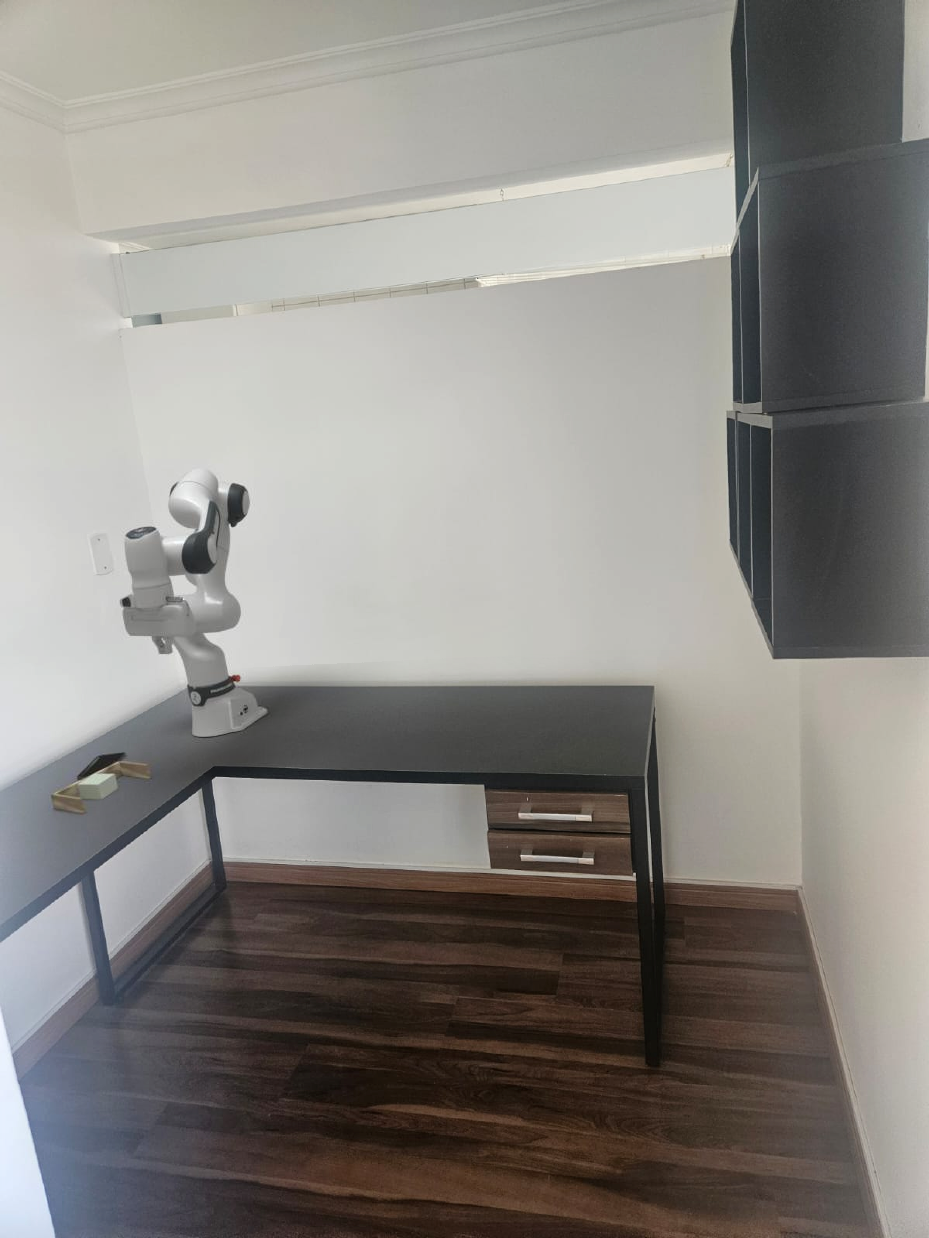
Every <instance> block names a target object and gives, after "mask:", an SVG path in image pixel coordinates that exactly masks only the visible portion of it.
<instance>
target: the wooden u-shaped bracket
mask: <svg viewBox="0 0 929 1238" xmlns="http://www.w3.org/2000/svg"><path fill="white" fill-rule="evenodd" d="M94 774H115V777H116V779H117V778H120V777H122V776H125V777H132V778H134V777H135V778H140V779H147V780H149V779H151V778H152V775H151V771H150V766H149V764H148V763H142V762H141V763H140V762H132V761H126V760H125V761H124V760H122V761H119V762H116V763H114V764H112V765H110V766H108V767H106V768H104V769H102V770H100V771H98V772H96V773H94ZM92 775H93V774H92ZM90 776H91V775H90ZM90 776H88V777H90ZM88 777H86V778H84V779H82V780H77V781H76V782H74V783H71V784H70V785H68V786H66V787H64V788H61V789H60V790H58V791H55V792H54V793H52V794H50V798H51V801H52V806H53V809H54V810H55V809H56V810H60V811H66V812H73V813H76V814H77V813H78V814H85V813H87V811H86V804H85V802H84V799H83V798H80V794H79V790H78V785H77V784H79V783H80V782H82V781H83V780H85V779H87V778H88Z"/></svg>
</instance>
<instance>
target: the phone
mask: <svg viewBox="0 0 929 1238" xmlns="http://www.w3.org/2000/svg"><path fill="white" fill-rule="evenodd" d="M126 757H127V753H126V752H124V751H123V752H116V753H108V754H101V755H97V756H96V757H94V759H93V760H92V761H90V763H89V764H88V765H87V766H86V767H85V768H84V769H83V770H82V771H81V772H80V773H79V774H78V775H77V776H76V779H77V781H80V780H82V779H84V778H86V777H88V776H90V775H92V774H94V773H96V772H98V771H100V770H102V769H104V768H106V767H108V766H110V765H112V764H114V763H116V762H119V761H124V759H125V758H126Z"/></svg>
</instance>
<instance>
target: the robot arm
mask: <svg viewBox="0 0 929 1238" xmlns="http://www.w3.org/2000/svg"><path fill="white" fill-rule="evenodd" d="M168 498H169V499H168V505H167V506H168V510H169V511H168V512H169V513H170V517H172V518H173V520H174V521H175V522H176V523H177V524H179V525H180V526H181V527H185V528H187V529H192V530H193V529H194V531H193V532H192V533H186V534H178V535H169V536H166V535H165V536H163V535H161V534H160V532H159V530H158V528H157V527H156V526H141V527H138V528H134V529H132V530H129V531H127V533H126V534H125V535H124V542H123V543H124V553H125V554H124V555H125V561H126V566H127V570H128V572H129V575H130V577H131V589H132V592H131V593H129V594H128V595H125V596H124V597H121V598H120V599H119V605H120V607H121V608H122V619H123V624H124V629H125V631H126V633H127V634H128V635H129V636H131V637H151V641H152V643H154V645H155V647H156V649H157V651H158V652H157V653H158V655H171V654H172V653H173V652H174V651H173V647H172V646H174V647H175V649H176V650H177V652H178V654H179V656H180V658H181V660H182V664H183V667H184V671H185V676H186V680H187V685H186V687H187V693H188V697H189V699H190V704H191V714H192V715H191V720H192V722H191V723H192V724H191V726H192V728H191V734H192V736H195V737H200V738H204V737H207V738H208V737H217V736H221V735H225V734H229V733H233V732H241V731H244V730H245V729H246V728H247V727H249V726H250V725H252V724H254V723H255V722H256V721H258V720H259V719H261V718H262V717H263V716H265V715H266V714H268V710H267V708H265V707H262V706H258V705H259V704H258V702H257V699H256V697H255V696H254V694H253V693H251V692H249V691H246V690H244V689H242V688H240V687H237V686H236V683H239V682H240V681H241V679H242V678H241V675H240V674H232V675H229V672H228V665H227V661H226V660H227V659H226V656H225V652H224V650H223V649H222V648H221V647H220V646H219V645H216V644H215V643H212V642H211V641H210V640H209V639H208V638H207V636H206V635H205V634H210V633H220V632H225V631H229V630H231V629H234V628H235V627H236V626H237V625H238V623H239V622H240V619H241V615H242V609H241V605H240V602H239V600H238V599H237V598H236V597H235V596H234V595H233V594H231V592H230V591H229V590H228V587H227V586H226V574H227V573H226V571H227V567H228V566H227V565H228V559H229V556H230V555H229V554H230V547H231V529H230V527H231V528H235V527H236V526H237V525H238V523H240V522H242V521H243V520H244V518H246V517H247V514H248V512H249V509H250V504H251V503H250V502H251V501H250V500H251V499H250V494H249V491H248V489H247V487H245V486H244V485H241V484H239V483H235V482H232V483H230V482H225V481H219V480H218V478H217V476H216V474H214V473H213V472H212V471H210V470H209V469H207V468H202V467H196V468H192V469H189V471H188V472H186V473H185V474H184V475H183V476H182V477H181V478H180V480H179V481H177V482H176V483H174V484H173V485H172V487H171V488H170V491H169V496H168ZM175 576H185V578H186V580H187V581H188V582H189V583H190V584H191V585H193V586H195V587H196V591H195V592H194V593H192V594H191V593H190V594H180V595H178V594H177V595H175V593H174V587H173V582H172V580H171V579H172V578H171V577H175Z"/></svg>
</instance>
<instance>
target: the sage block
mask: <svg viewBox="0 0 929 1238" xmlns="http://www.w3.org/2000/svg"><path fill="white" fill-rule="evenodd" d="M117 782H118V781H117V778H116V777H115V774H93V775H91V776H90V777H88V778H87V779H85V780H83V781H82V782H80V783H79V784H77V785H78V790H79V794H80V798H83V800H103V799H104V798H106V797H107V796H109V795H110V794H112V793H113V792H115V791H117V790H118V789H119V786H118V783H117Z"/></svg>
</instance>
